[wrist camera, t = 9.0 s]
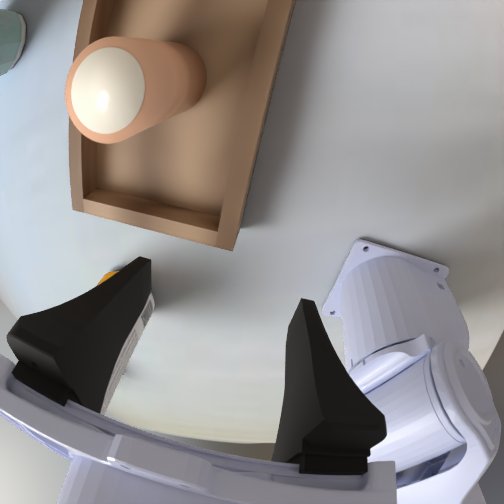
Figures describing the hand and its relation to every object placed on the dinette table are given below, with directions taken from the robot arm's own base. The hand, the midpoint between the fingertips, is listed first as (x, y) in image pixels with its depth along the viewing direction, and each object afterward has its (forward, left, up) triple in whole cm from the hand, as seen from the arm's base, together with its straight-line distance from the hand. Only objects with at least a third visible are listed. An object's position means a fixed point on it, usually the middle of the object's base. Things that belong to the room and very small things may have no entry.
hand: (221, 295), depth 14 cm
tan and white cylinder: (+7, -8, -8) cm, 14 cm away
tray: (+7, -8, -9) cm, 14 cm away
